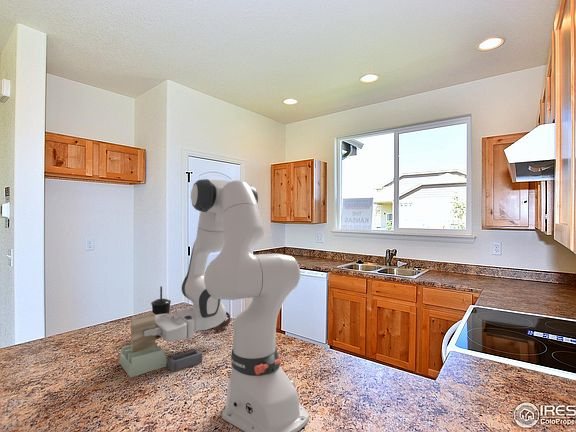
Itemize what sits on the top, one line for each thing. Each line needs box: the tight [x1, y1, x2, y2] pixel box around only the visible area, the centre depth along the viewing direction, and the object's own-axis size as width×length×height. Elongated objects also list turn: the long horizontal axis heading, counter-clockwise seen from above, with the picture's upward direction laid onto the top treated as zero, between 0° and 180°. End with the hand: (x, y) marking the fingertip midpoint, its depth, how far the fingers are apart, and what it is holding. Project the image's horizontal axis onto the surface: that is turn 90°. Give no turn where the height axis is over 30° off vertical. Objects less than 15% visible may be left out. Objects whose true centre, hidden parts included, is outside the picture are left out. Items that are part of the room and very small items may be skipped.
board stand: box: [167, 348, 203, 373], centre depth 104 cm, size 4×10×3 cm, turn 132°
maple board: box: [130, 312, 156, 353], centre depth 104 cm, size 2×7×13 cm, turn 131°
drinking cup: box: [150, 285, 172, 338], centre depth 130 cm, size 8×8×20 cm
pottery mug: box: [214, 311, 232, 332], centre depth 138 cm, size 12×10×8 cm
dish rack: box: [119, 341, 168, 378], centre depth 103 cm, size 12×11×6 cm
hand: (141, 332), depth 103 cm, fingers closed on maple board, 2 cm apart
